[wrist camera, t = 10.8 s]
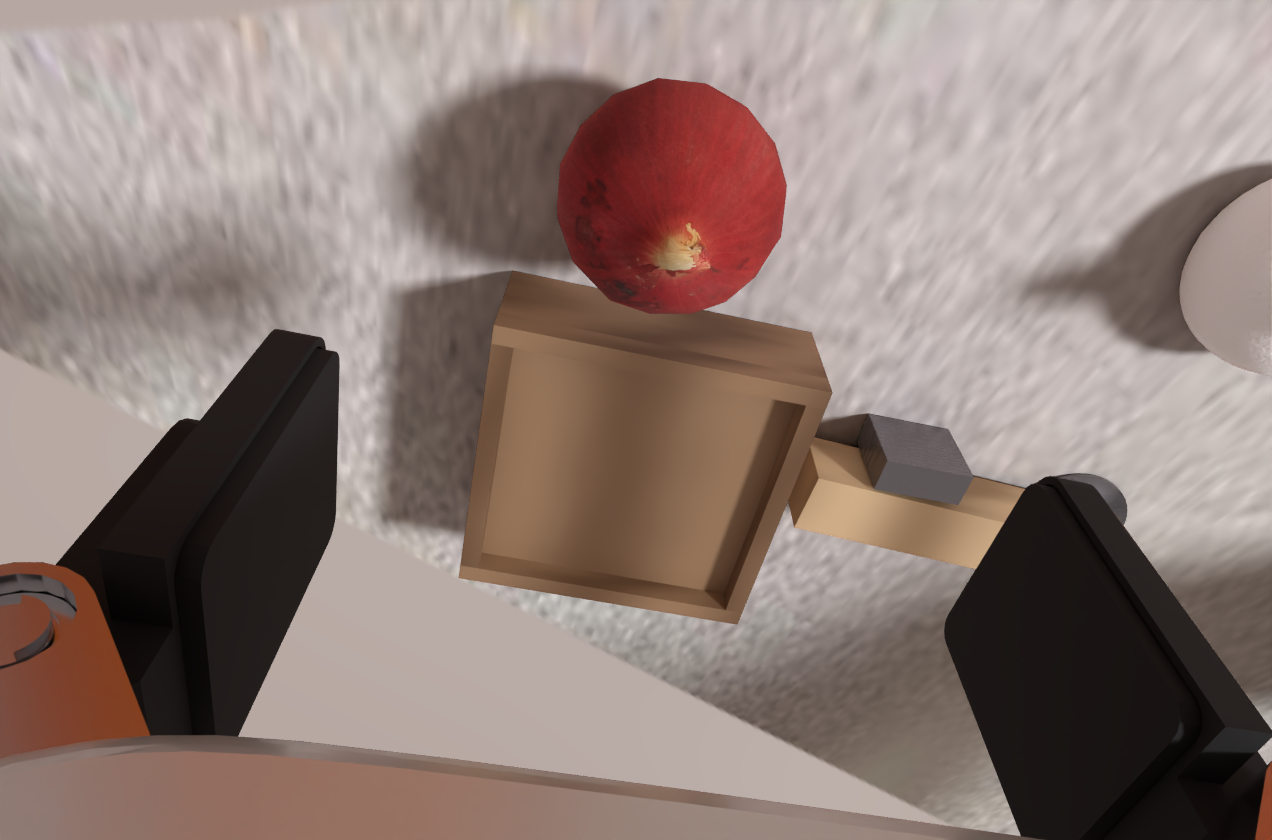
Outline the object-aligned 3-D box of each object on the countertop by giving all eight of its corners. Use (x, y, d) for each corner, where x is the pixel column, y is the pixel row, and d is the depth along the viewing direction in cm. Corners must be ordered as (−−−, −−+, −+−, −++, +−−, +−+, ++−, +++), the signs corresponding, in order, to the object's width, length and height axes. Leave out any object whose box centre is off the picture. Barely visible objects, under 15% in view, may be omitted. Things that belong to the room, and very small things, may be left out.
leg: (1129, 502, 31) (1163, 548, 29) (1081, 563, 33) (1110, 611, 31) (812, 424, 29) (824, 466, 27) (779, 492, 31) (789, 537, 29)
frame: (1157, 470, 31) (1221, 546, 27) (1087, 570, 33) (1137, 650, 30) (868, 413, 29) (897, 485, 26) (820, 521, 32) (840, 599, 29)
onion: (656, 287, 27) (658, 425, 20) (528, 151, 25) (482, 256, 18) (805, 167, 25) (862, 278, 18) (680, 6, 22) (692, 63, 16)
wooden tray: (811, 332, 28) (832, 392, 24) (728, 552, 33) (737, 624, 30) (512, 270, 27) (493, 325, 23) (477, 507, 32) (458, 577, 29)
